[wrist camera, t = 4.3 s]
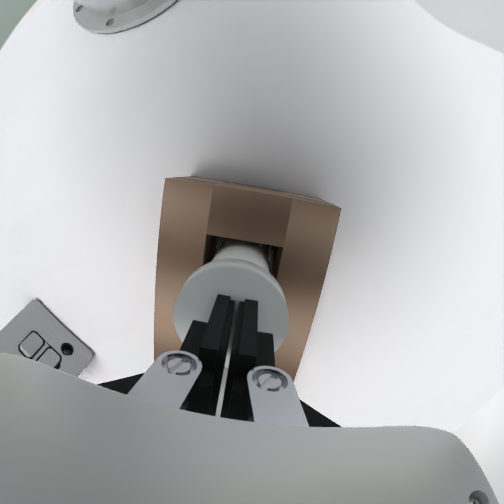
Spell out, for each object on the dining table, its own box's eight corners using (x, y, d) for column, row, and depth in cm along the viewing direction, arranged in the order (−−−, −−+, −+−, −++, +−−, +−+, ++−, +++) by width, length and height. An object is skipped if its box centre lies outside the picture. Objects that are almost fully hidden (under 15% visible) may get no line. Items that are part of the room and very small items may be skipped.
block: (190, 176, 21) (165, 178, 15) (319, 198, 21) (341, 208, 16) (172, 406, 28) (159, 446, 22) (261, 421, 28) (262, 463, 22)
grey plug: (215, 217, 21) (177, 257, 11) (281, 228, 21) (300, 278, 11) (207, 278, 22) (171, 356, 12) (269, 289, 22) (275, 374, 12)
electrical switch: (97, 352, 26) (52, 410, 17) (84, 372, 28) (46, 424, 19) (37, 295, 25) (-18, 338, 16) (30, 320, 26) (-16, 362, 18)
